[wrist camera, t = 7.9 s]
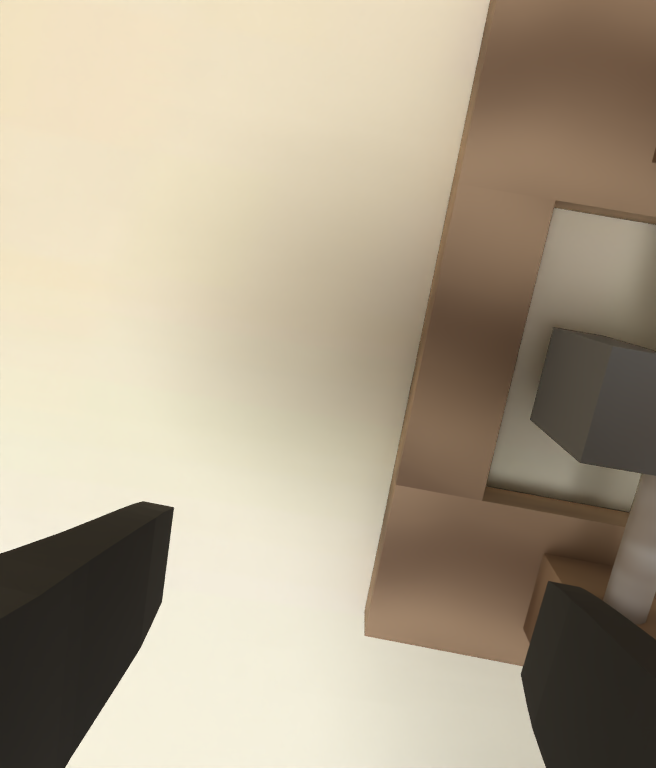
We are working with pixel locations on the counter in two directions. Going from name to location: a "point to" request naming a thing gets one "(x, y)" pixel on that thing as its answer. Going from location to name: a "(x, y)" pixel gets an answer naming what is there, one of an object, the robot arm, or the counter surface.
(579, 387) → the clip
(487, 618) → the brown wooden frame
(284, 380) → the counter surface
